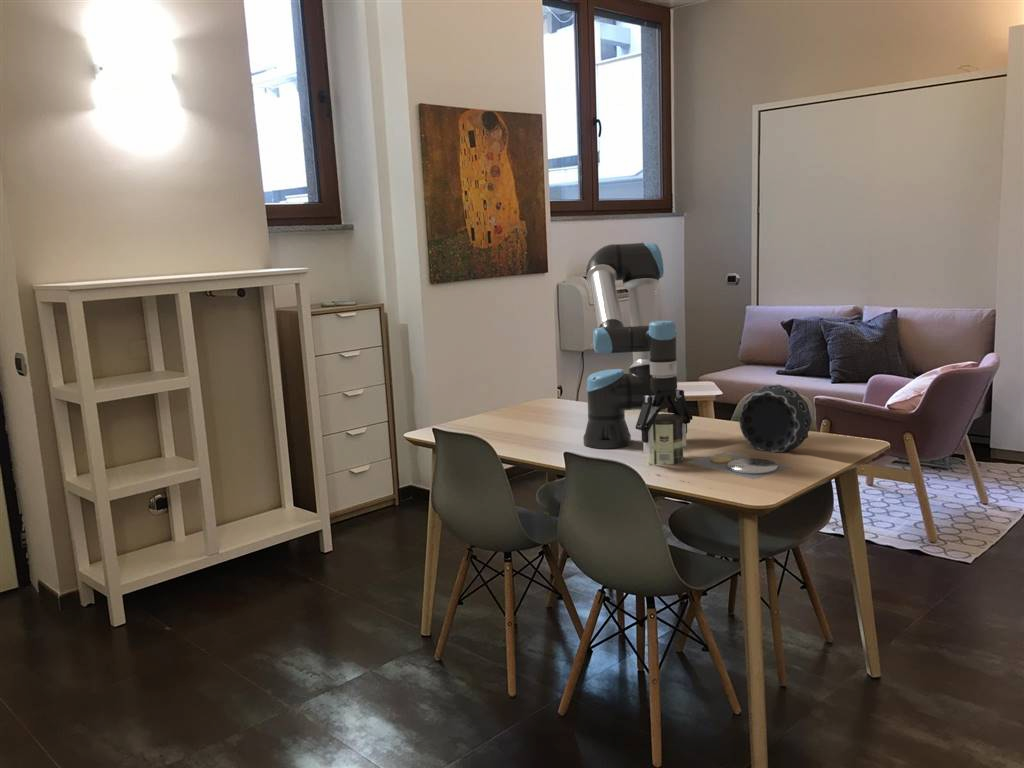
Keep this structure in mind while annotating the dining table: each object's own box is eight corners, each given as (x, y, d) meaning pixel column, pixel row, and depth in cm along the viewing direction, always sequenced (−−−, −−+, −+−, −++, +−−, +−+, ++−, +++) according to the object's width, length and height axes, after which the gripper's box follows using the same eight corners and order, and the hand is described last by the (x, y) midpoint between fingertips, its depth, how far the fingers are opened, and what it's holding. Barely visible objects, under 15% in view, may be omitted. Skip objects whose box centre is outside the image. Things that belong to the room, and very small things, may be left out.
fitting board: (685, 467, 247) (685, 458, 247) (724, 457, 256) (724, 448, 256) (753, 484, 228) (753, 475, 228) (792, 472, 237) (792, 463, 237)
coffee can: (674, 459, 257) (673, 412, 255) (689, 467, 247) (689, 418, 245) (641, 462, 255) (640, 415, 253) (655, 471, 245) (654, 422, 243)
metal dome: (717, 468, 240) (717, 464, 239) (749, 459, 247) (749, 456, 247) (755, 477, 229) (755, 473, 229) (787, 468, 236) (787, 464, 236)
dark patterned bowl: (750, 445, 269) (750, 380, 266) (815, 452, 256) (815, 385, 253) (735, 452, 261) (734, 386, 258) (801, 461, 248) (801, 391, 245)
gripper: (640, 382, 237) (642, 459, 240) (704, 371, 251) (705, 444, 254) (621, 380, 243) (623, 454, 246) (684, 369, 257) (686, 440, 260)
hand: (665, 449), depth 250 cm, fingers open, 13 cm apart
